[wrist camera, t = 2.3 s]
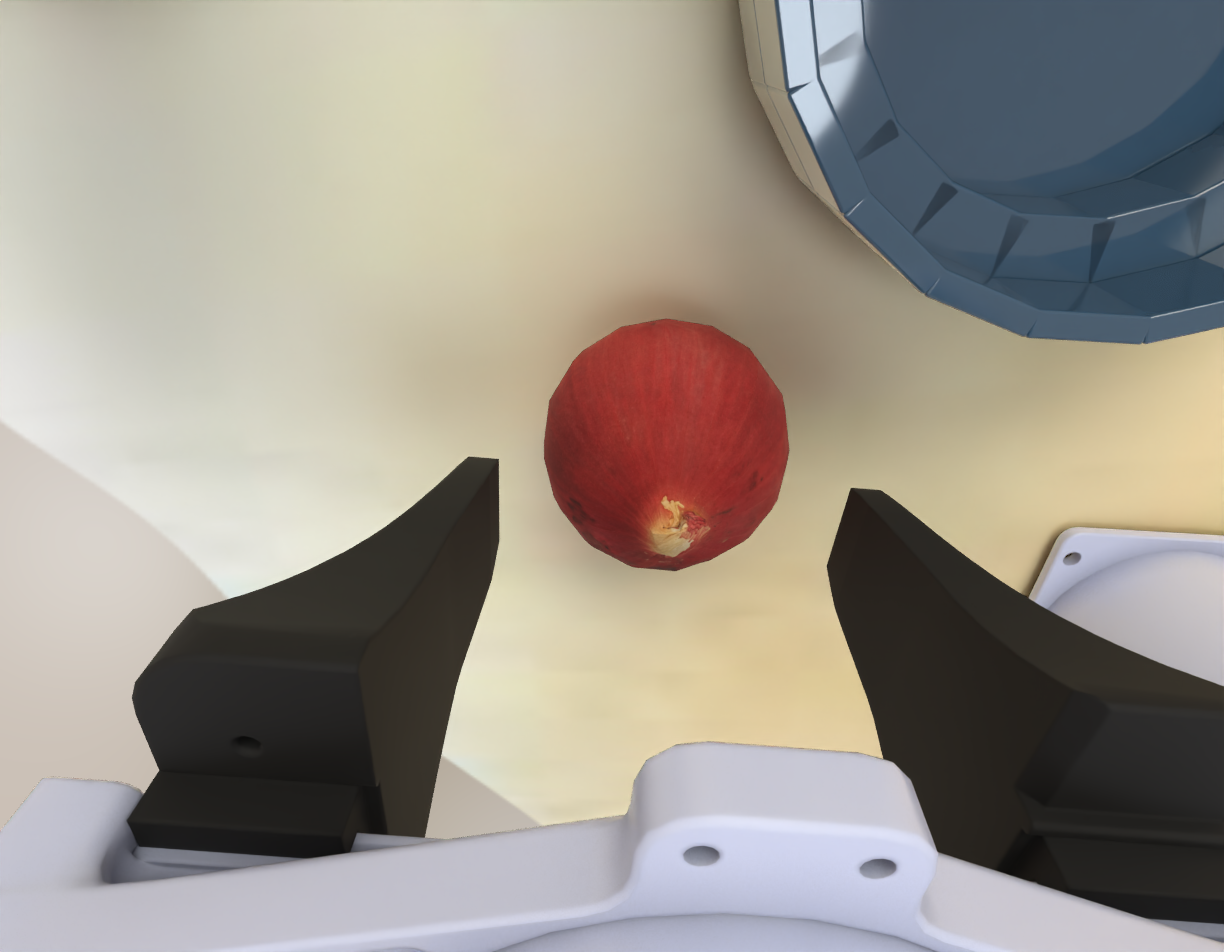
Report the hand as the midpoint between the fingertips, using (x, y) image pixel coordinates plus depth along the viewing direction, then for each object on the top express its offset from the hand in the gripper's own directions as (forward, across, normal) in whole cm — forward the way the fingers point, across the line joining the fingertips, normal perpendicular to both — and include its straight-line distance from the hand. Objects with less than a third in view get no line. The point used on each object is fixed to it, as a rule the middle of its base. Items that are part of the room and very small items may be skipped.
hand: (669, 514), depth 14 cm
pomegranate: (+7, 0, 0) cm, 7 cm away
